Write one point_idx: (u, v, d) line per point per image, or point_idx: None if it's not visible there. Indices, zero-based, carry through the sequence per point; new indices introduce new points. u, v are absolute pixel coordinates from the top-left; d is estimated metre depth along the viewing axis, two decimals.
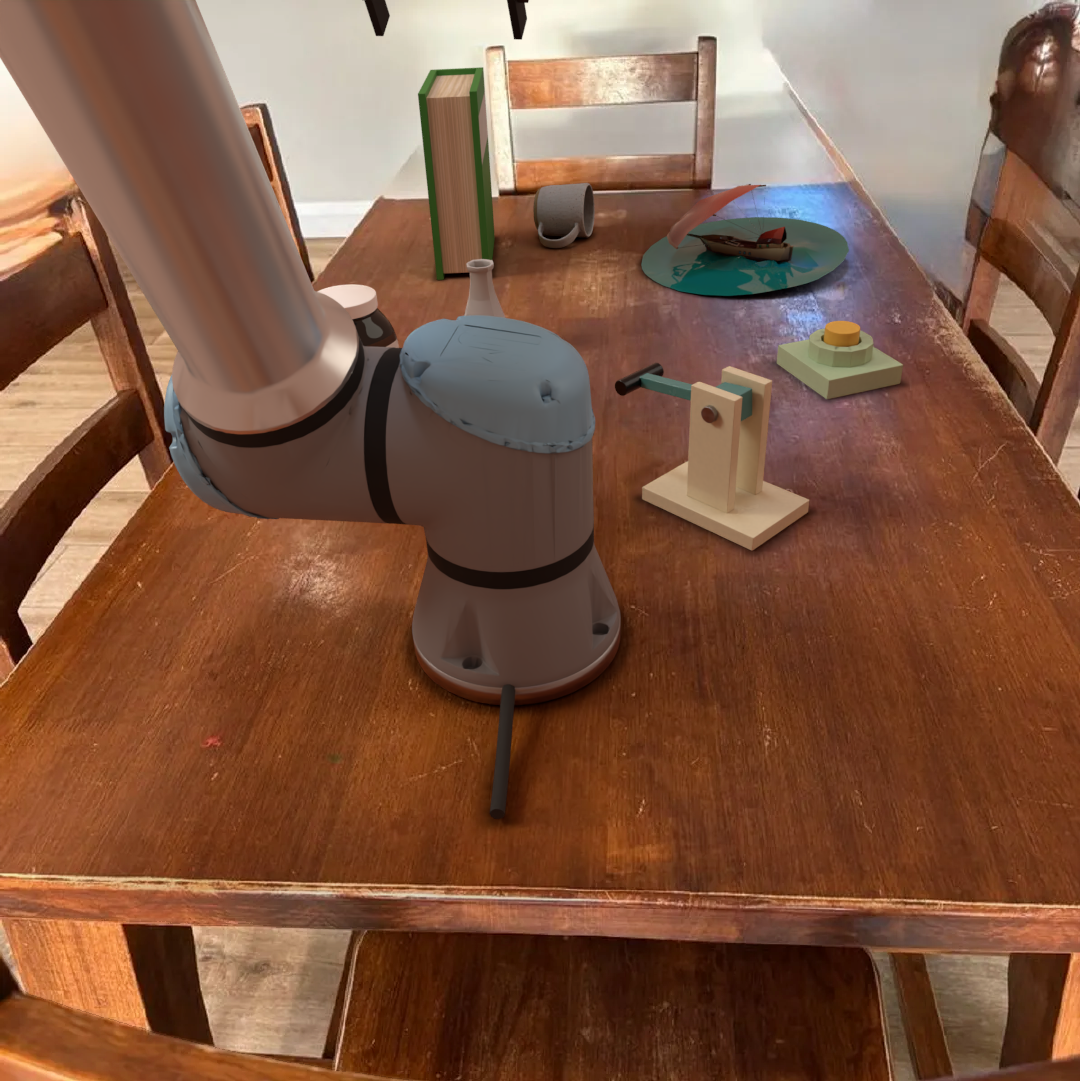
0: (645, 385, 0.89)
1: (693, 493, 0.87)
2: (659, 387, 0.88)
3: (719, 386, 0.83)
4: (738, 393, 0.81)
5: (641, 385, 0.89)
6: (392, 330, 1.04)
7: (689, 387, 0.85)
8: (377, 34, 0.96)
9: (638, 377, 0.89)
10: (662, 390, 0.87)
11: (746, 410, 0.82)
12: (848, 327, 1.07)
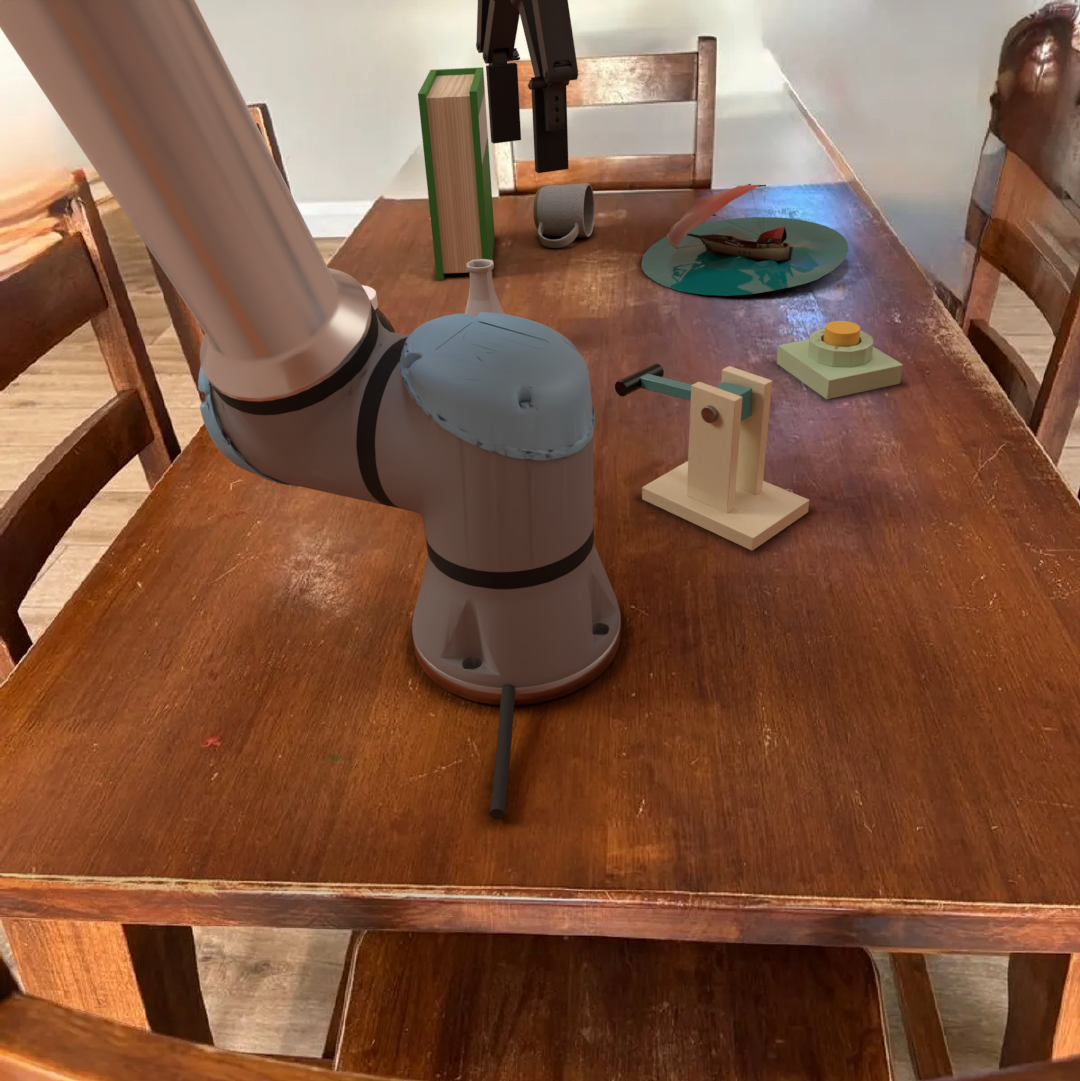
0: (645, 385, 0.89)
1: (693, 493, 0.87)
2: (659, 387, 0.88)
3: (719, 387, 0.83)
4: (738, 393, 0.81)
5: (641, 385, 0.89)
6: (392, 330, 1.04)
7: (689, 387, 0.85)
8: (491, 140, 0.93)
9: (638, 378, 0.89)
10: (662, 390, 0.87)
11: (746, 410, 0.82)
12: (848, 327, 1.07)
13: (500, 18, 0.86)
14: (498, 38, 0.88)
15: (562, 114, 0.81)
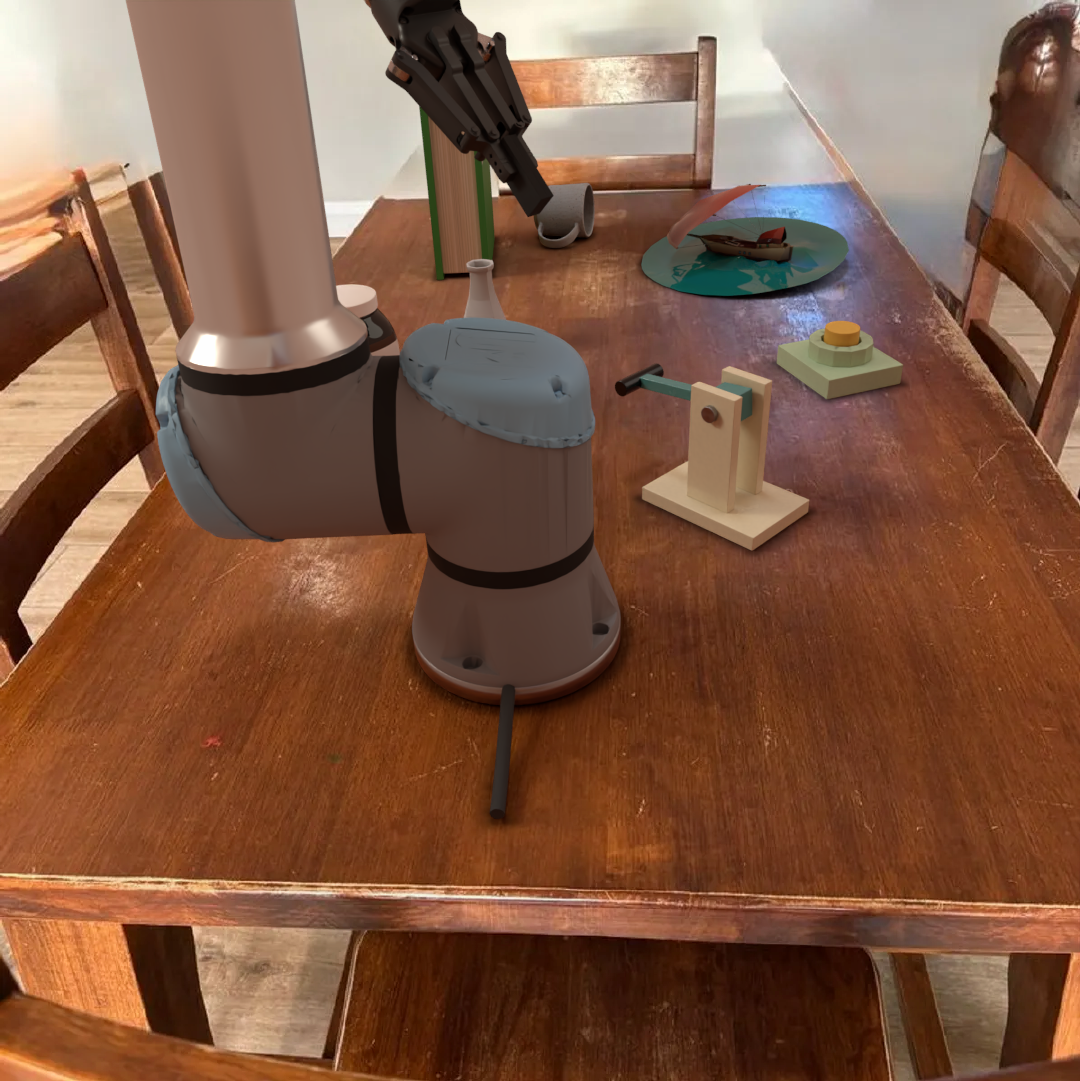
0: (645, 385, 0.89)
1: (693, 493, 0.87)
2: (659, 387, 0.88)
3: (719, 387, 0.83)
4: (738, 393, 0.81)
5: (641, 385, 0.89)
6: (392, 330, 1.04)
7: (689, 387, 0.85)
8: (542, 197, 0.88)
9: (638, 378, 0.89)
10: (662, 390, 0.87)
11: (746, 410, 0.82)
12: (848, 327, 1.07)
13: None
14: None
15: None
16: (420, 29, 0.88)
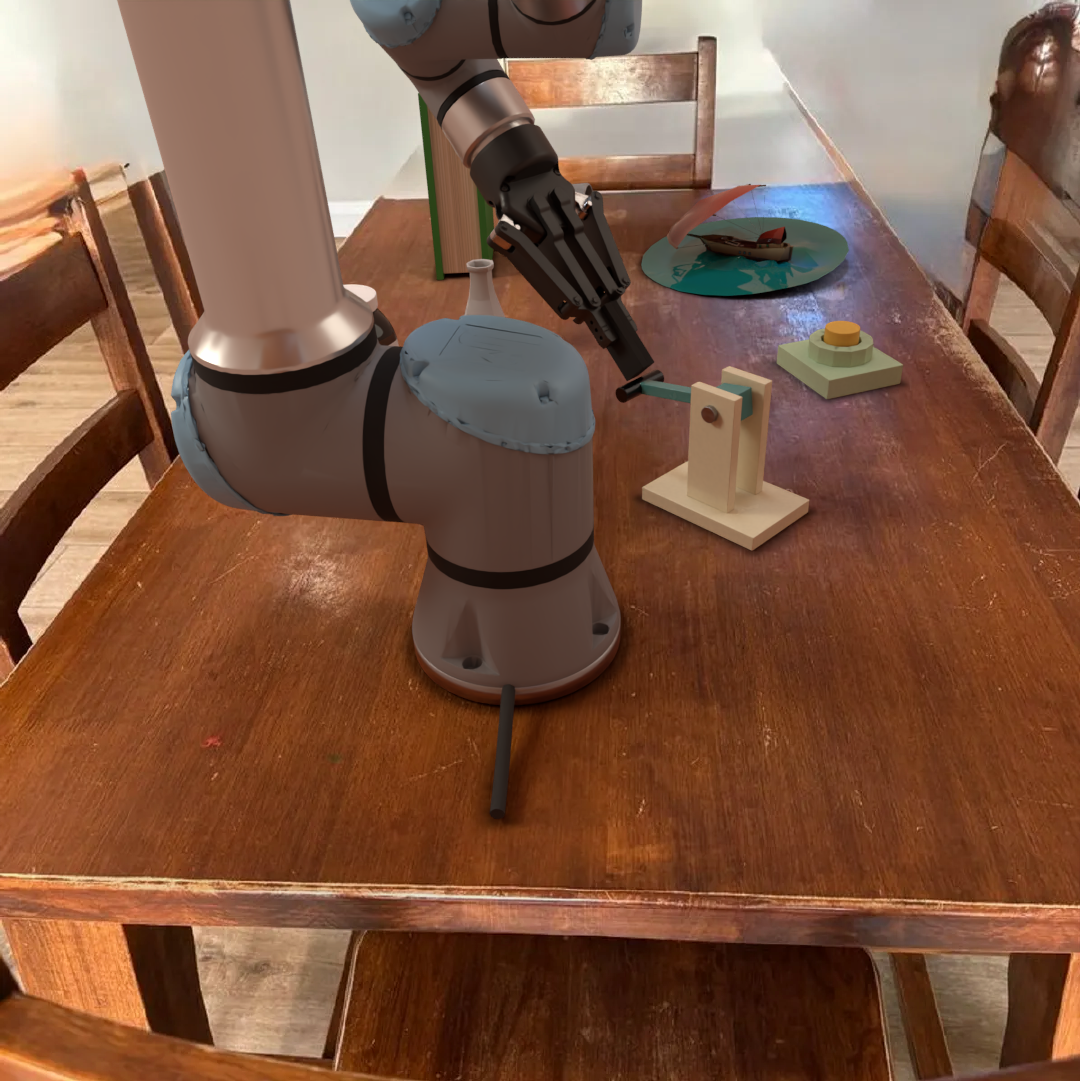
0: (645, 391, 0.89)
1: (693, 493, 0.87)
2: (659, 392, 0.88)
3: (718, 387, 0.83)
4: (737, 392, 0.81)
5: (642, 391, 0.89)
6: (392, 330, 1.04)
7: (689, 390, 0.86)
8: (643, 365, 0.88)
9: (638, 384, 0.89)
10: (663, 395, 0.88)
11: (747, 409, 0.82)
12: (848, 327, 1.07)
13: None
14: None
15: None
16: (521, 196, 0.88)
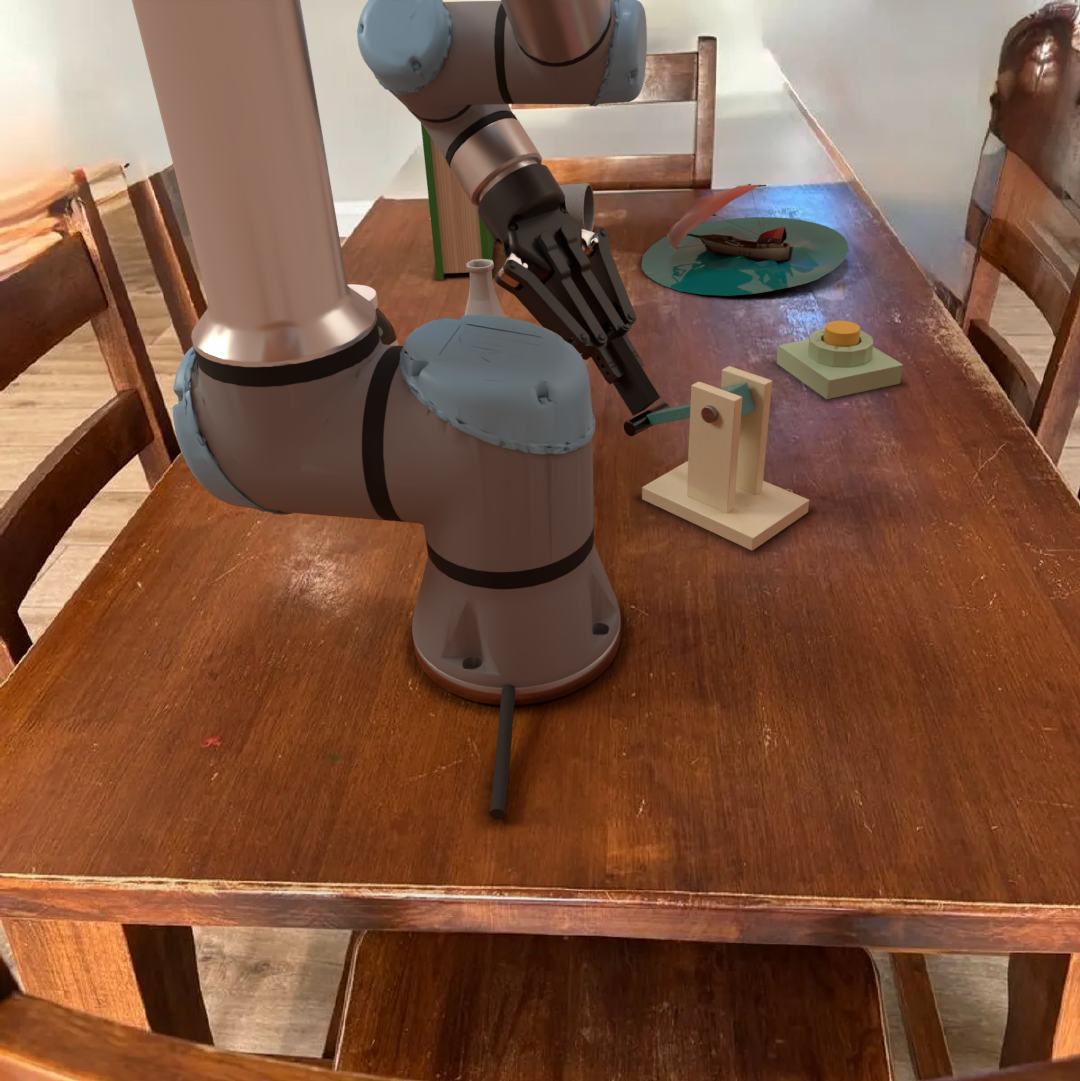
0: (652, 421, 0.90)
1: (693, 493, 0.87)
2: (664, 417, 0.89)
3: None
4: (733, 388, 0.82)
5: (650, 422, 0.90)
6: (392, 330, 1.04)
7: None
8: (649, 400, 0.89)
9: (645, 416, 0.90)
10: (668, 418, 0.88)
11: (747, 404, 0.82)
12: (848, 327, 1.07)
13: None
14: None
15: None
16: (529, 234, 0.89)
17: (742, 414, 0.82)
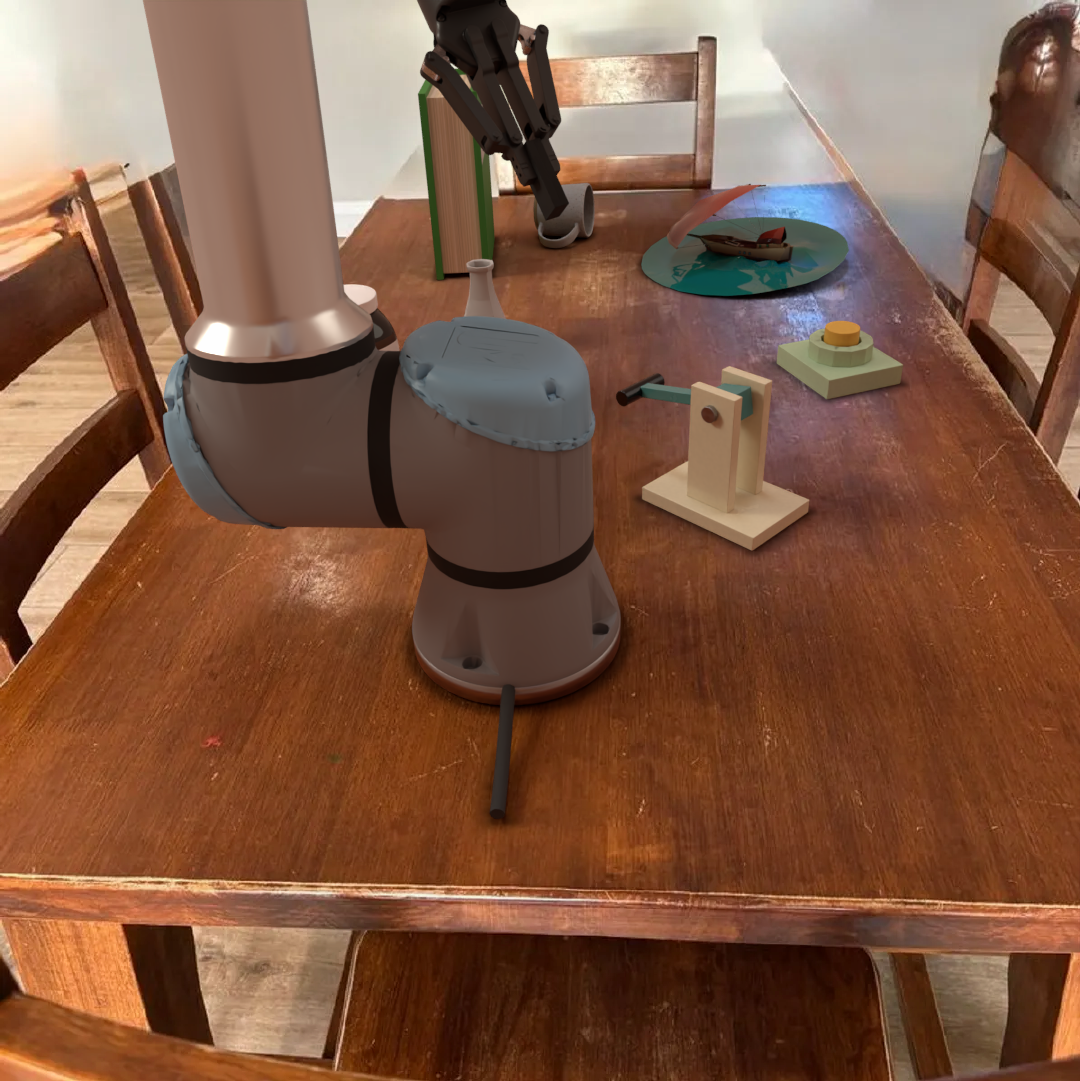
0: (646, 394, 0.89)
1: (693, 493, 0.87)
2: (659, 395, 0.88)
3: (718, 387, 0.83)
4: (737, 391, 0.81)
5: (642, 395, 0.89)
6: (392, 330, 1.04)
7: (689, 392, 0.86)
8: (556, 205, 0.91)
9: (639, 387, 0.89)
10: (663, 397, 0.88)
11: (747, 409, 0.82)
12: (848, 327, 1.07)
13: None
14: None
15: None
16: (457, 27, 0.90)
17: None
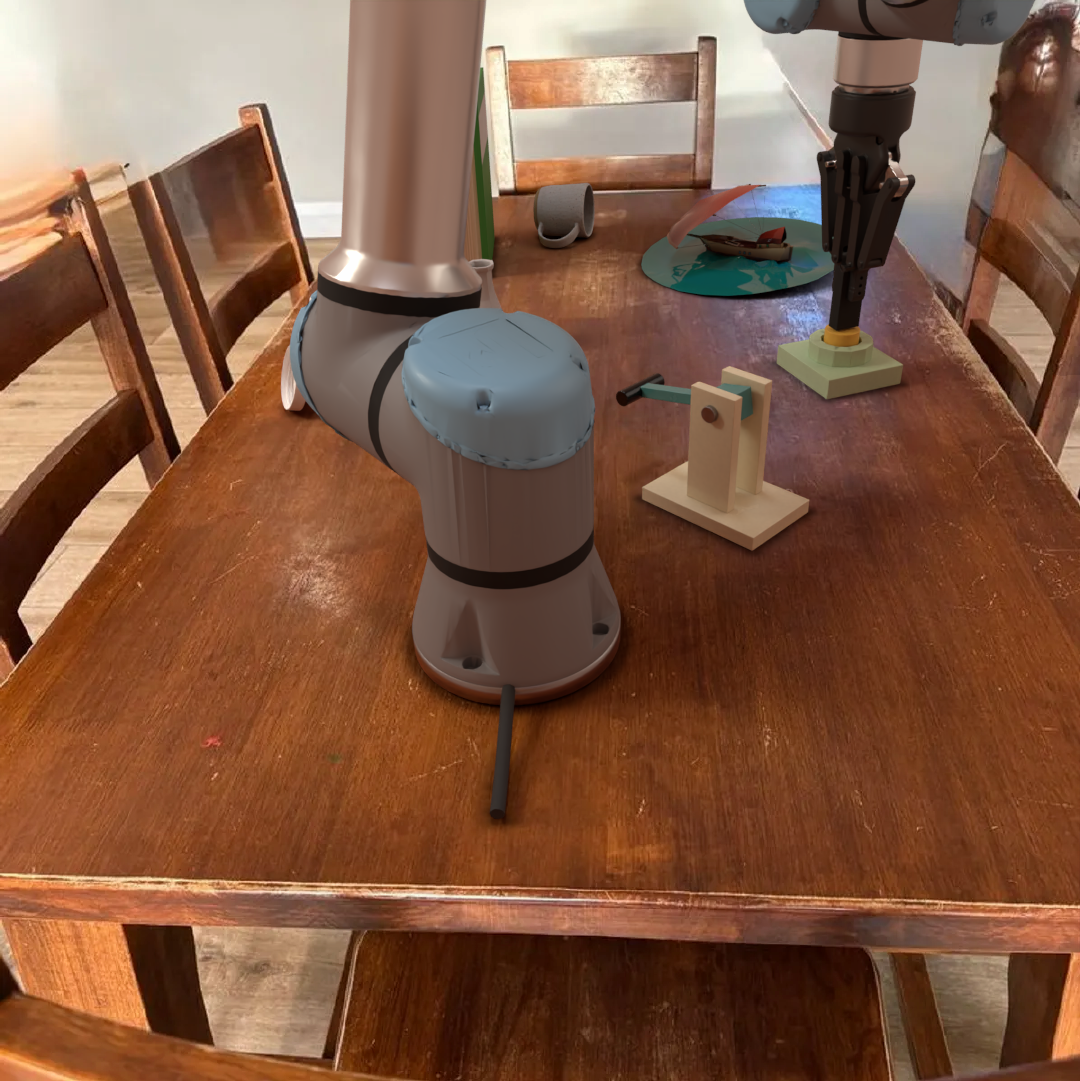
0: (646, 394, 0.89)
1: (693, 493, 0.87)
2: (659, 395, 0.88)
3: (718, 387, 0.83)
4: (737, 391, 0.81)
5: (642, 395, 0.89)
6: None
7: (689, 392, 0.86)
8: (829, 324, 1.07)
9: (639, 387, 0.89)
10: (663, 397, 0.88)
11: (747, 409, 0.82)
12: (848, 328, 1.07)
13: (849, 215, 1.01)
14: (847, 235, 1.02)
15: (864, 289, 1.03)
16: (843, 142, 0.98)
17: None
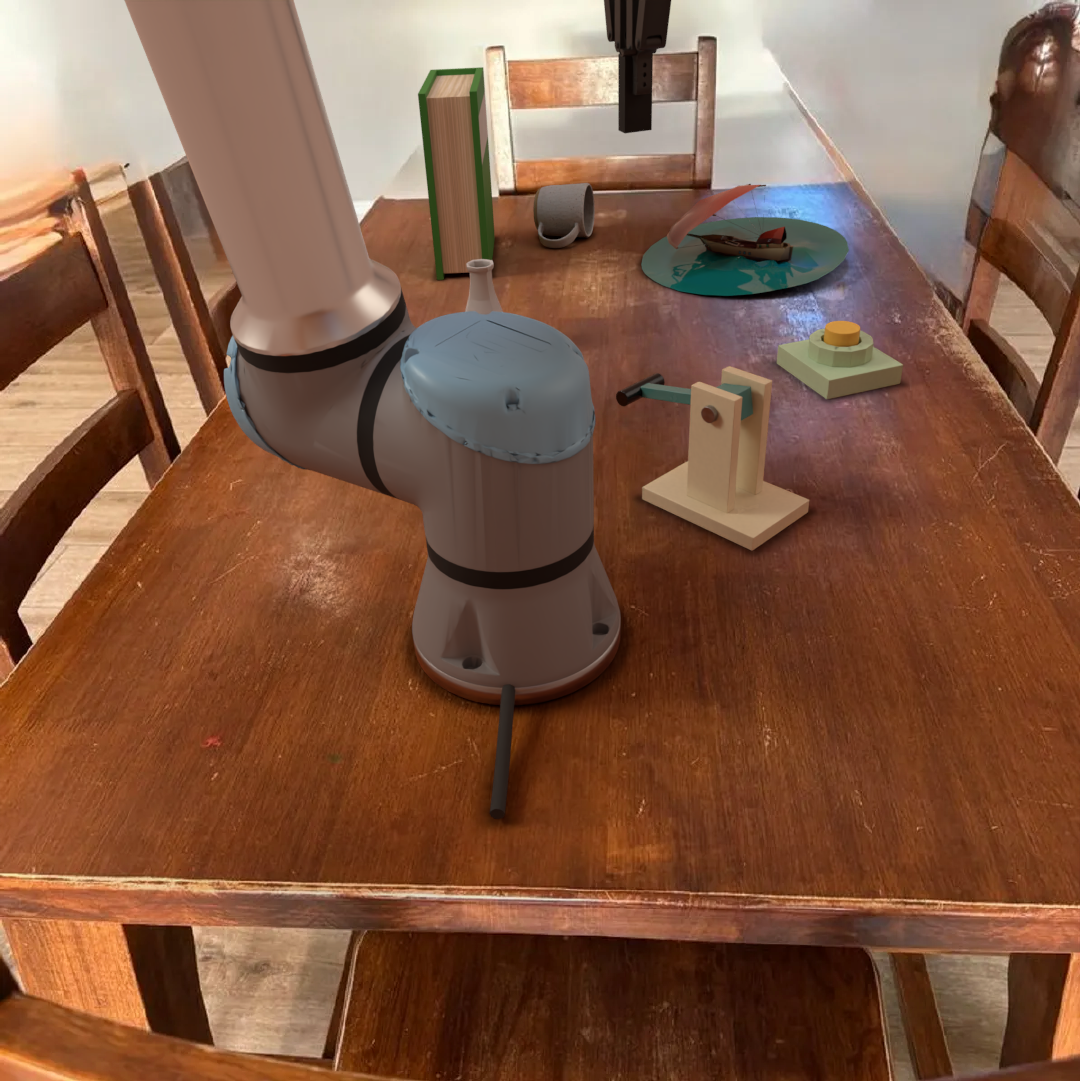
0: (646, 394, 0.89)
1: (693, 493, 0.87)
2: (659, 395, 0.88)
3: (718, 387, 0.83)
4: (737, 391, 0.81)
5: (642, 395, 0.89)
6: None
7: (689, 392, 0.86)
8: (619, 128, 0.94)
9: (639, 387, 0.89)
10: (663, 397, 0.88)
11: (747, 409, 0.82)
12: (848, 327, 1.07)
13: None
14: None
15: (649, 79, 0.90)
16: None
17: None
